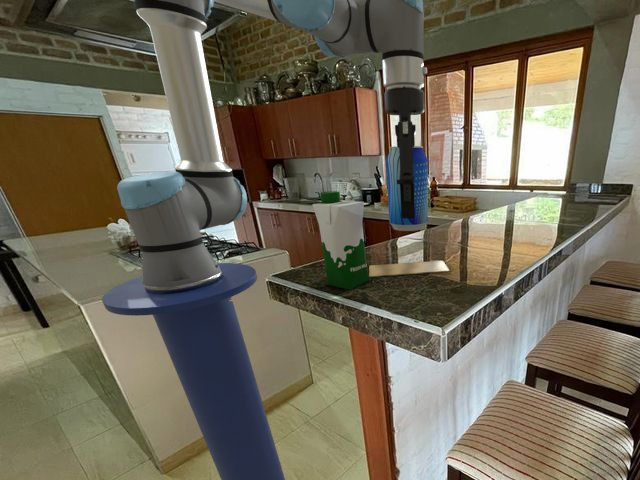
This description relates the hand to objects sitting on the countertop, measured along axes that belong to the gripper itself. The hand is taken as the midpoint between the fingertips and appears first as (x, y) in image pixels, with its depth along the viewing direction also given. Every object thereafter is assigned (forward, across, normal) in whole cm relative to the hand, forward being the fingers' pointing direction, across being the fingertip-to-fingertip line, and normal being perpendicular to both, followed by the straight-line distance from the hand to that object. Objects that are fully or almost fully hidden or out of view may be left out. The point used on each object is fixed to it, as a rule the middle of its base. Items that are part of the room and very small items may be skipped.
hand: (408, 214), depth 72 cm
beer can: (+3, 0, 0) cm, 3 cm away
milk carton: (+15, 0, +14) cm, 21 cm away
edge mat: (+15, +9, 0) cm, 17 cm away
